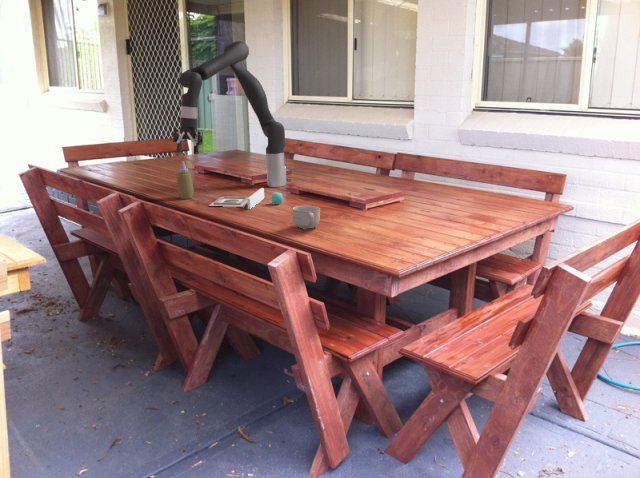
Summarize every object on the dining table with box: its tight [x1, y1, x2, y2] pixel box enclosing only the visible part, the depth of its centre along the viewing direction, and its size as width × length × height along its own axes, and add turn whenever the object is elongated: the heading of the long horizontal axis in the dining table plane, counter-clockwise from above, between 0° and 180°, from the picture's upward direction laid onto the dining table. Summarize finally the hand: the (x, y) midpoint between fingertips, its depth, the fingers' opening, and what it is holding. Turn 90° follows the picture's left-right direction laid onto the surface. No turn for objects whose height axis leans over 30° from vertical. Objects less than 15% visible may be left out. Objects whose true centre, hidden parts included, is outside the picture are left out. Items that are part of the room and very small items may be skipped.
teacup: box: [292, 205, 321, 229], centre depth 234 cm, size 14×11×8 cm
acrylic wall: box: [247, 187, 265, 210], centre depth 276 cm, size 22×1×5 cm, turn 169°
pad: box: [208, 195, 250, 208], centre depth 279 cm, size 16×16×2 cm
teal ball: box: [270, 191, 284, 205], centre depth 274 cm, size 6×6×6 cm
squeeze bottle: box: [176, 160, 195, 200], centre depth 289 cm, size 8×8×18 cm
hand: (187, 152), depth 276 cm, fingers open, 8 cm apart
